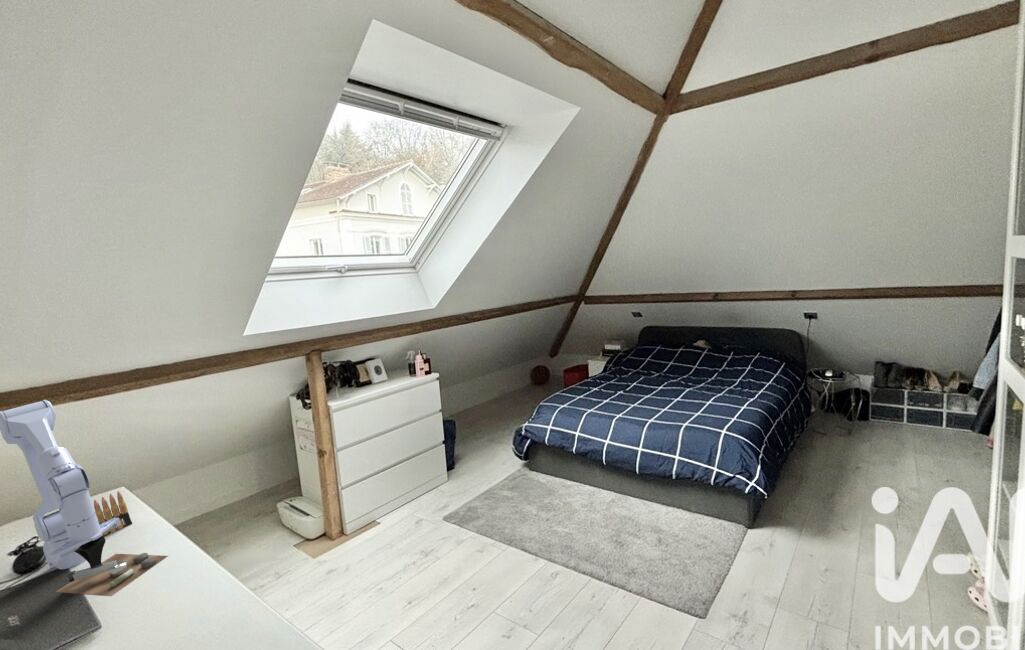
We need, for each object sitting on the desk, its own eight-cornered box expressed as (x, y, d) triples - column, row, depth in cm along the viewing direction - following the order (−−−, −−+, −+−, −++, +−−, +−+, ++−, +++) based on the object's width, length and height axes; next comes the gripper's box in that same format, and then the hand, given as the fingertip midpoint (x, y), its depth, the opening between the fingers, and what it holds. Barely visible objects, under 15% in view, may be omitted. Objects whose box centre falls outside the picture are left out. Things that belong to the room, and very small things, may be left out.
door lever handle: (67, 591, 113) (62, 578, 113) (75, 582, 117) (70, 569, 116) (125, 574, 117) (121, 562, 116) (131, 566, 120) (127, 553, 120)
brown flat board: (56, 596, 115) (53, 586, 114) (117, 557, 128) (114, 548, 127) (112, 600, 110) (109, 590, 109) (169, 560, 123) (166, 550, 123)
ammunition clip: (87, 547, 136) (74, 508, 134) (86, 544, 137) (74, 506, 135) (133, 527, 144) (122, 490, 142) (132, 525, 145) (121, 488, 143)
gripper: (58, 537, 107) (76, 591, 110) (123, 501, 121) (138, 550, 124) (35, 537, 109) (54, 590, 112) (102, 502, 123) (117, 549, 125)
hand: (96, 569), depth 118 cm, fingers closed, pressing on door lever handle
